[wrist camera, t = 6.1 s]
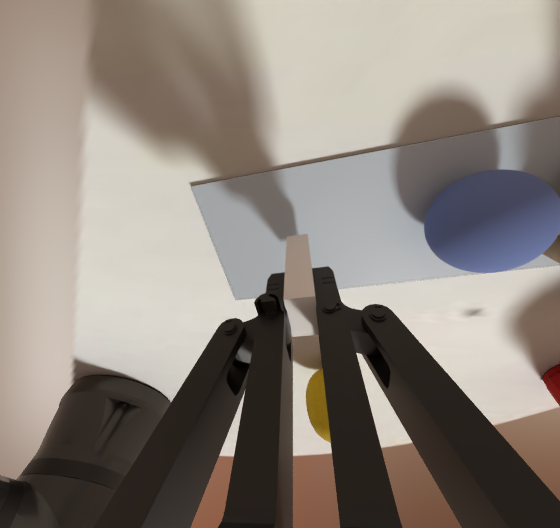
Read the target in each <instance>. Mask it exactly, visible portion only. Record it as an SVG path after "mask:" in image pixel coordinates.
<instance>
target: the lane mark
mask: <svg viewBox="0 0 560 528" xmlns="http://www.w3.org/2000/svg"><path fill="white" fill-rule="evenodd" d="M497 169H507V170H517V171H522V172H526V173H529V174H531V175H534V176H536V177H538V178H540V179H542V180H543V181H545V182H546V183H548V184H549V185H550V186H551V187H552V188H553V189H554V190H555V191H556V193H557V194H558V196H560V116H558V117H553V118H548V119H542V120H537V121H532V122H527V123H521V124H516V125H511V126H506V127H500V128H495V129H490V130H484V131H479V132H474V133H469V134H463V135H458V136H453V137H447V138H442V139H437V140H432V141H426V142H421V143H416V144H410V145H405V146H400V147H395V148H389V149H384V150H379V151H373V152H368V153H363V154H358V155H352V156H347V157H342V158H337V159H331V160H326V161H321V162H315V163H310V164H305V165H300V166H294V167H289V168H284V169H278V170H273V171H268V172H263V173H257V174H252V175H247V176H241V177H236V178H231V179H226V180H220V181H215V182H210V183H204V184H199V185H194V186H191V188H192V191H193V193H194V196H195V198H196V201H197V203H198V206H199V209H200V211H201V214H202V216H203V219H204V221H205V224H206V226H207V229H208V231H209V234H210V236H211V239H212V242H213V244H214V247H215V249H216V252H217V254H218V257H219V259H220V262H221V264H222V267H223V269H224V272H225V274H226V277H227V280H228V282H229V285H230V287H231V290H232V292H233V295H234V297H235V300H243V299H252V298H258V297H259V296H260V295H262V294H264V293H266V287H267V280H268V278H269V277H270V275H271V274H274V273H283V272H285V259H286V241H287V236H294V235H301V234H308V240H309V248H310V256H311V264H312V268H319V267H327V266H329V267H330V268H331V269H332V270H333V272H334V276H335V280H336V284H337V288H338V289H345V288H354V287H363V286H373V285H382V284H391V283H401V282H410V281H419V280H428V279H438V278H447V277H456V276H466V275H475V274H484V273H476V272H469V271H464V270H460V269H458V268H455V267H453V266H451V265H449V264H447V263H445V262H444V261H442V260H441V259H439V258H438V257H437V256H436V255H435V254H434V253H433V251H432V250H431V249H430V247H429V245H428V243H427V241H426V238H425V233H424V222H425V217H426V214H427V211H428V209H429V207H430V205H431V204H432V202H433V201H434V200H435V198H436V197H437V196H438V195H439V194H440V193H441V192H442V191H443V190H444V189H446V188H447V187H448V186H450V185H451V184H453V183H454V182H456V181H458V180H460V179H462V178H464V177H466V176H469V175H472V174H475V173H478V172H483V171H488V170H497ZM559 265H560V264H559V263H558V262H556V261H554V260H552V259H550V258H549V257H547V256H545V255H543V254H541V255H540V256H539V257H537V258H536V259H534V260H532V261H530V262H529V263H527V264H524V265H522V266H520V267H517V268H514V269H511V270H507V271H512V270H521V269H531V268H540V267H549V266H559ZM501 272H503V271H501Z"/></svg>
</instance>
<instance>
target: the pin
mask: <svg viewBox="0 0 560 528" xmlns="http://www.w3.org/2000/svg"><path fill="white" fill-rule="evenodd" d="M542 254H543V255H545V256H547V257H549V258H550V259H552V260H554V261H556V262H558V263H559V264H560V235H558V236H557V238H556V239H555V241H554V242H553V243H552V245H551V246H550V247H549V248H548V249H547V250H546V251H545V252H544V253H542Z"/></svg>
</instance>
